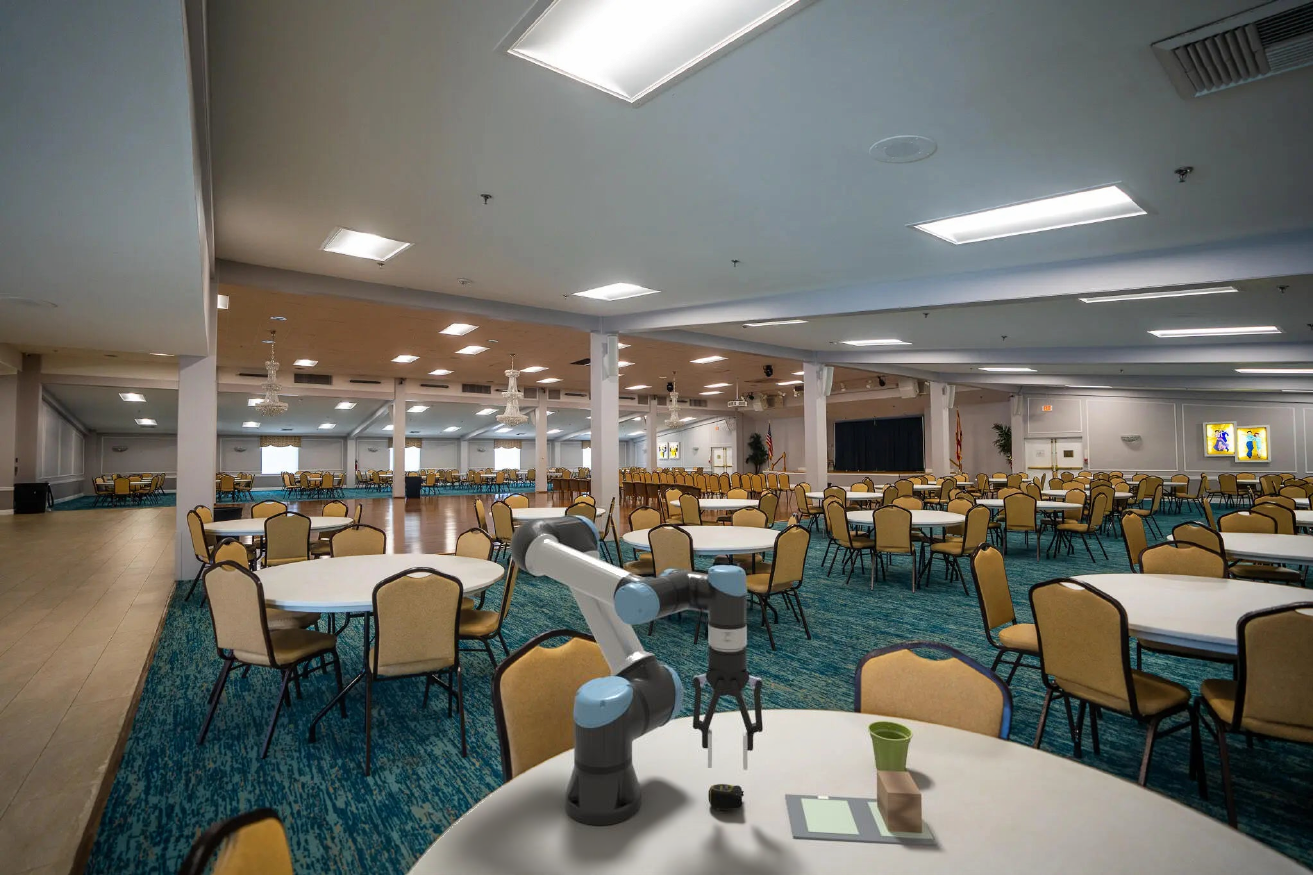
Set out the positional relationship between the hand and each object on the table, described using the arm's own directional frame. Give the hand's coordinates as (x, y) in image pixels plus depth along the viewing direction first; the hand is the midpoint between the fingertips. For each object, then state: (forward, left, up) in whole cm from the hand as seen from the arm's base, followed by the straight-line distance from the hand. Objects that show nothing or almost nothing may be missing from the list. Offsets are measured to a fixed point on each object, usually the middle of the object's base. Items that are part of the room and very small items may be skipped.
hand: (727, 764), depth 121 cm
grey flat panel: (+24, 0, -10) cm, 26 cm away
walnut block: (+32, 0, -9) cm, 33 cm away
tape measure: (+2, 0, -9) cm, 9 cm away
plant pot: (+36, +21, -10) cm, 43 cm away
